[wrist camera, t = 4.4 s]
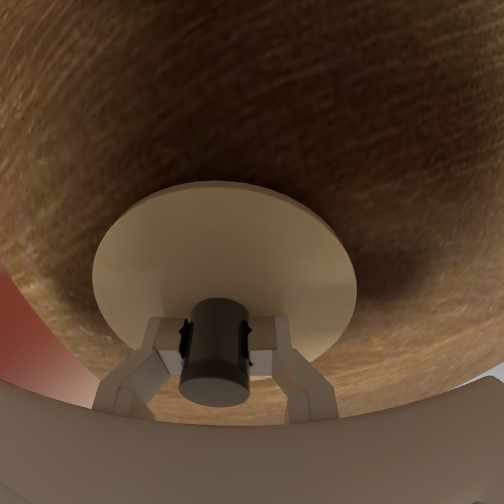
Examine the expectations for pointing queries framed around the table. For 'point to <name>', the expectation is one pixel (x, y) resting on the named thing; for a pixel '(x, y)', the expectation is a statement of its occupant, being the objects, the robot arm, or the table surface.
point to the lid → (223, 278)
